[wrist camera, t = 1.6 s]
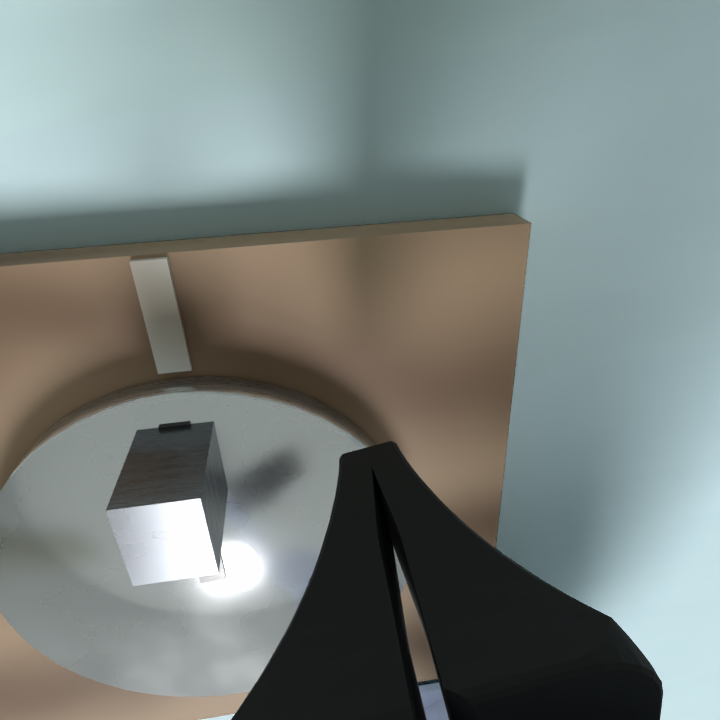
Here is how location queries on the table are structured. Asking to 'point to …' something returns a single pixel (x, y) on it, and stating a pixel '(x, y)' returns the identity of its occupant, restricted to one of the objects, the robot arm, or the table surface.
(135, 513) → the dial
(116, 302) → the plate
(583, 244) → the table surface
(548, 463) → the table surface
